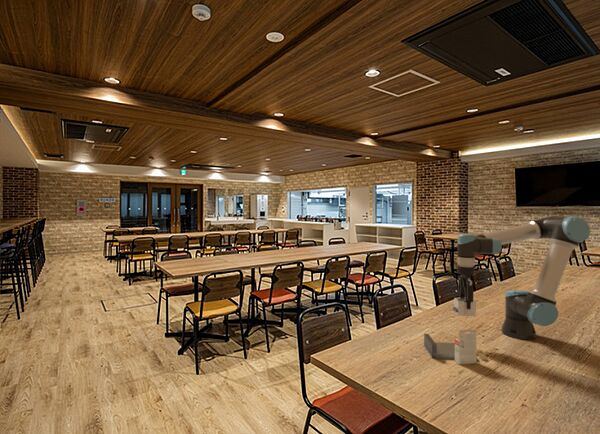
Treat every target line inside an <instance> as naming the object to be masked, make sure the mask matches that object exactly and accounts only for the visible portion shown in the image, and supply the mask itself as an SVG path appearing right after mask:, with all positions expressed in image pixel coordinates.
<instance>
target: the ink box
mask: <svg viewBox="0 0 600 434" xmlns="http://www.w3.org/2000/svg"><path fill="white" fill-rule="evenodd" d="M467 332H469V333H467ZM458 333H459V338H454V343H455V359H454V362H456V363H457V364H458V365H472V364H477V355H476V350H477V329H464V330H459V331H458Z"/></svg>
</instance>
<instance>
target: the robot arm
mask: <svg viewBox="0 0 600 434" xmlns="http://www.w3.org/2000/svg"><path fill="white" fill-rule="evenodd" d="M590 235H591V226H590V225H589V224H588V221H587V220H586V219H584V218H582V217H579V216H573V215H569V216H568V215H567V216H566V215H563V216H562V215H551V216H546V217H541V218H538V219H535V220H531V221H528V223H526V224H522V225H519V226H518V225H517V226H513V227H508V228H504V229H500V230H495V231H490V232H487V233H481V234H476V235H475V234H473V233H472V234H471V233H459V234H458V236H457V258H456V261H457V266H456V273H457V274H458V276H457V279H458V283H457V296H458V298H465V301H464V302H465V306H464V315H465V316H464V317H472V316H471V302H473V300H474V284H475V283H474V280H472V278H471V276H474V275H475V270H476V269H475V264H476V256H475V255H477V254H481V255H482V254H483V255H484V254H485V255H498V254H500V253H501V251H502V247H503V245H506V244H507V245H508V244H513V243H515V242H516V243H517V242H521V241H525V240H526V241H527V240H530V239H534V240H540V239H547V240H548V241H549V242H550V245H549V247H548V250H547V253H546V255H545V258H544V261H543V264H542V266H541V269H540V271H539V274H538V276H537V278H536V282H535V283H534V287H533V288H532V290H525V289H524V290H522V289H508V290H506V292H505V318H504V320H503V324H502V326H501V333H502V334H504V335H505V336H507V337H511V338H513V339H519V340H535V339H536V338H537V332H536V329H535V326H534V325H537V326H541V327H547V326H550V325H553V324H554V323H555V322H556V321H557V319H558V317H559V311H558V307H556V306H557V302H558V300H557V299H556V298H555V297H556V294H557V291H558V288H559V286H560V284H561V281H562V278H563V276H564V273H565V272H566V271H565V270H566V267H567V265H568V263H569V261H570V258H571V255H572V251H573V250H575V249H577V248H579V245H580V243H581V242H584V241H586V240H587V239H589V237H590Z"/></svg>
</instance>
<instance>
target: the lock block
mask: <svg viewBox="0 0 600 434" xmlns="http://www.w3.org/2000/svg"><path fill="white" fill-rule="evenodd" d="M464 301H465V298H460V297H454V299H453V306H452V310H453V313H454V314H456V315H457V316H461V317H466V316H465V315H464V306H465V302H464ZM476 313H477V301H475V300H474V299H473V302H471V316H470V317H477V316H476V315H477V314H476Z"/></svg>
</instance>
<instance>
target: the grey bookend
mask: <svg viewBox="0 0 600 434" xmlns="http://www.w3.org/2000/svg"><path fill="white" fill-rule="evenodd" d="M423 347H424V348H425V349H426V352H427V353H428V354H429V356H430V357H431V358H432V359H442V360H443V359H449V360H455V342H440V341H439V342H435V340H434V339H433V338H432V337H431V335H430V334H429V333H423Z"/></svg>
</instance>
